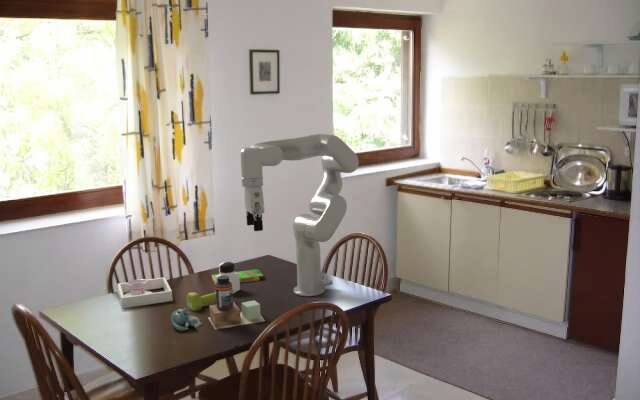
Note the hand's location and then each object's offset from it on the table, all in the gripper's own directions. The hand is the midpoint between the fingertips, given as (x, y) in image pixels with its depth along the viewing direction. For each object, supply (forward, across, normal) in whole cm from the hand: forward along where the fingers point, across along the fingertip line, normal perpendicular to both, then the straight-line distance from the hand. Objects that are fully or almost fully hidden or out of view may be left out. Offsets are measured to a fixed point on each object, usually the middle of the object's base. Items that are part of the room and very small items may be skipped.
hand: (254, 227), depth 247 cm
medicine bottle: (+32, +24, +6) cm, 40 cm away
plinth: (+31, -10, +11) cm, 35 cm away
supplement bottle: (+25, -10, +15) cm, 31 cm away
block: (+30, -10, +6) cm, 32 cm away
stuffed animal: (+32, -6, +28) cm, 43 cm away
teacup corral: (+31, +32, +38) cm, 59 cm away
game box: (+32, +38, -1) cm, 49 cm away
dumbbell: (+32, +10, +17) cm, 37 cm away
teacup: (+32, +34, +40) cm, 61 cm away
